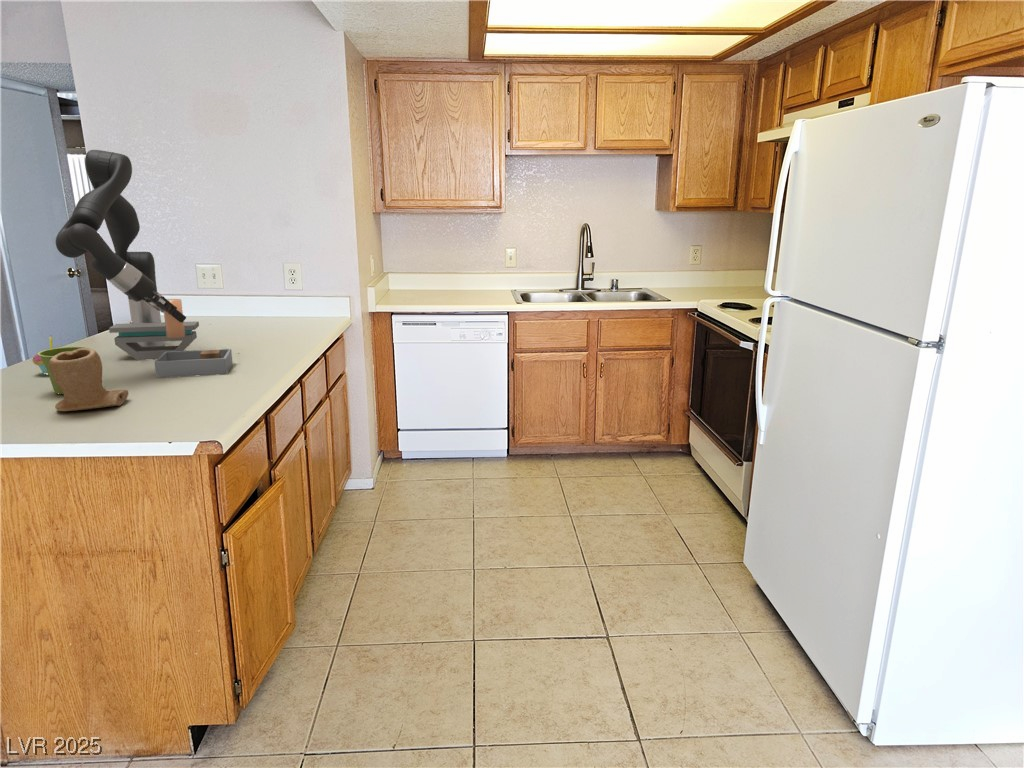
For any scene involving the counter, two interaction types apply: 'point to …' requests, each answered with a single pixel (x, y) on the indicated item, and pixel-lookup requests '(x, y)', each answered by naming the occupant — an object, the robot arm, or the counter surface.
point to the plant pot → (46, 357)
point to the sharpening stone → (150, 338)
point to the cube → (210, 354)
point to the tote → (192, 364)
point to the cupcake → (38, 360)
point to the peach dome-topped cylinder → (174, 321)
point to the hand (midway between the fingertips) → (180, 318)
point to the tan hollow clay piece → (82, 381)
